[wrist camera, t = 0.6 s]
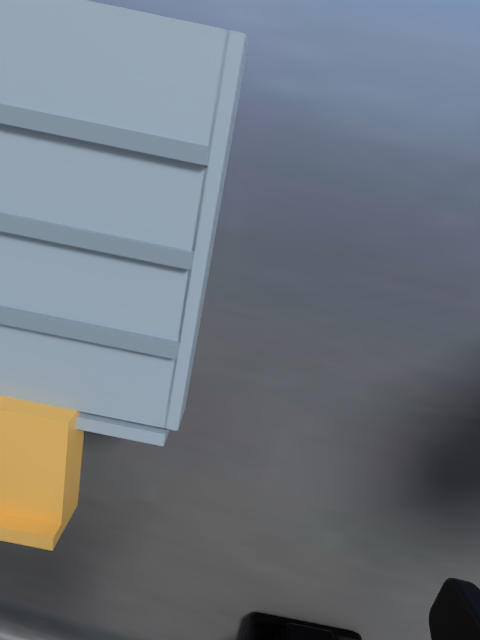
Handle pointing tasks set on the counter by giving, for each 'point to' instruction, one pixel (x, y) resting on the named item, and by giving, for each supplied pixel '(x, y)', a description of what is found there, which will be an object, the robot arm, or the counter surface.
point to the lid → (101, 234)
